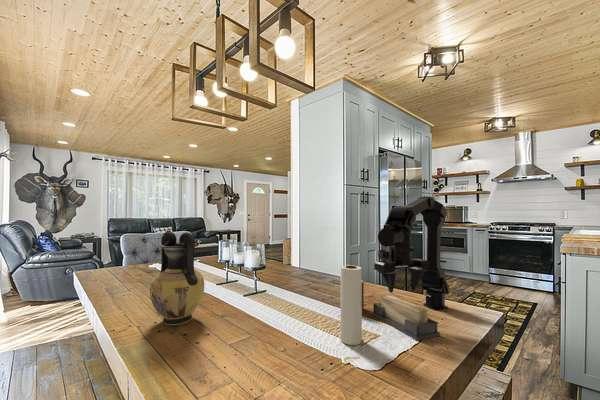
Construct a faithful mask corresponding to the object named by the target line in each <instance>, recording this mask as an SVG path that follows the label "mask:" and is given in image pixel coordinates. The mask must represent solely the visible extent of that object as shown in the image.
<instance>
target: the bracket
mask: <svg viewBox="0 0 600 400" xmlns="http://www.w3.org/2000/svg"><path fill="white" fill-rule="evenodd" d="M371 315H372V316H374V317H375V318H377V319H378V320H381V321H382V322H384V323H385V324H387V325H388V326H391V327H393V328H394V329H396V330H397V331H399V332H401V333H402V332H403V334H404V333H405V334H404V335H405V336H407V335H408V336H407V337H409V336H410V338H411V337H412V338H411V339H413V340H414V339H415V341H416V342H419V341H422V340H427V339H433V338H438V337H440V336H441V333H440V332H439V331H438V322H437V321H435V320H434V319H431V318H430V317H429V318H428V317H427V318H428V322H427V323H421V324H415V323H413V322H411V321H409V320H408V319H406V320H405V325H403V324H401V323H399V322H397V321H395V320H393V319H391V318H389V317H386V316H385V308H384V307H382V306H381V301H380V302H373V311H371Z"/></svg>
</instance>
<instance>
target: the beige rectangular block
mask: <svg viewBox="0 0 600 400" xmlns="http://www.w3.org/2000/svg"><path fill="white" fill-rule="evenodd" d="M380 299H381V301H380V302H381V306H382V307H384V308H385V316H386V317H389V318H391V319H393V320H395V321H397V322H399V323H401V324H403V325H405V320H406V319H408V320H409V321H411V322H413V323H415V324H421V323H427V322H428V309H426V308H424V307H421V306H418V305H416V304H413V303H410V302H408V301H406V300H404V299H403V300H402V299H399V298H398V297H394V296H393V295H385V296H381V297H380Z"/></svg>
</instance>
